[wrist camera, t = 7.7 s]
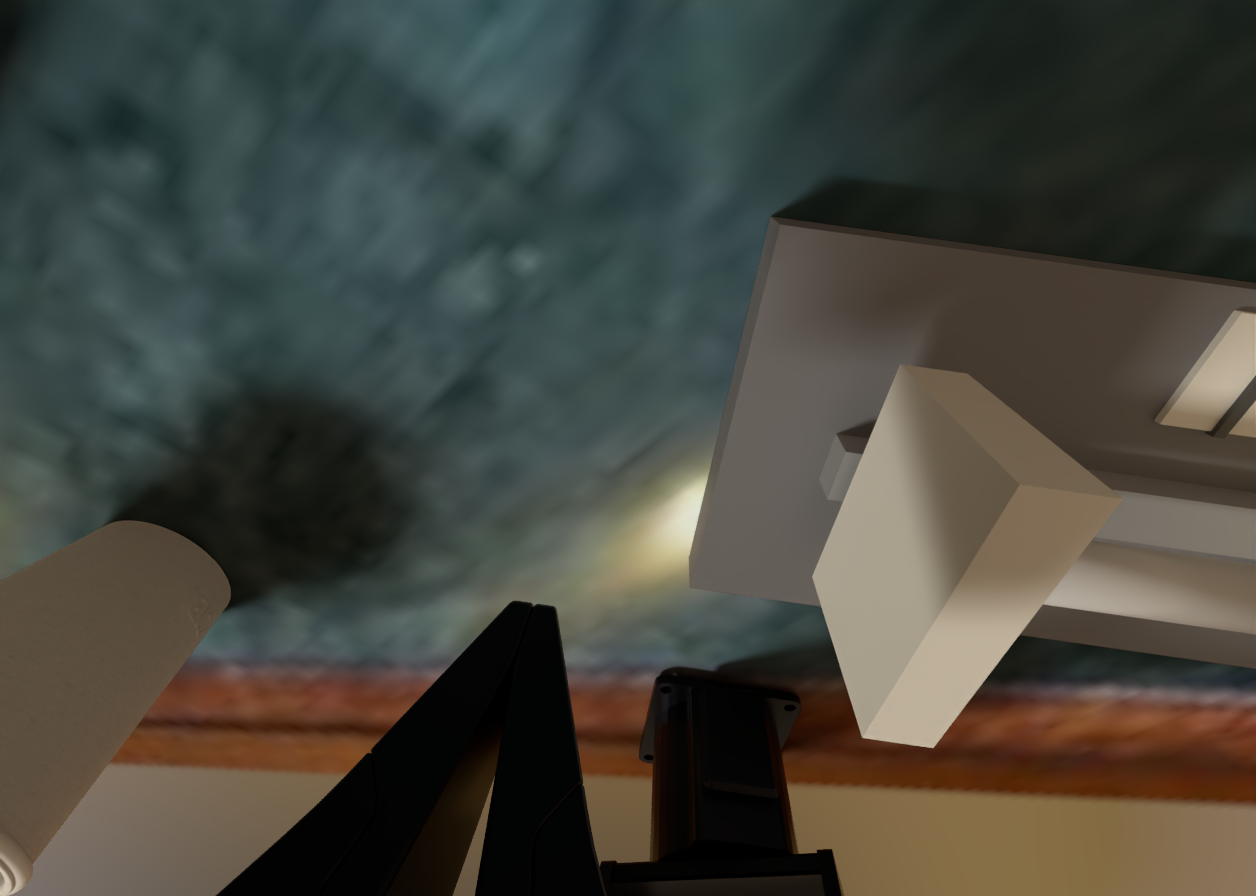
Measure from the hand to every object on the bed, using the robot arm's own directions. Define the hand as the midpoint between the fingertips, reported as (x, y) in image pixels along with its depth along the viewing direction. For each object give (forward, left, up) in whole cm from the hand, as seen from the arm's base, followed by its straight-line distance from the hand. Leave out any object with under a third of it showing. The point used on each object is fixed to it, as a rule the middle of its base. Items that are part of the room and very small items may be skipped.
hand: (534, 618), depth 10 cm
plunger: (+1, -12, -6) cm, 13 cm away
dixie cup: (-11, +18, -8) cm, 22 cm away
